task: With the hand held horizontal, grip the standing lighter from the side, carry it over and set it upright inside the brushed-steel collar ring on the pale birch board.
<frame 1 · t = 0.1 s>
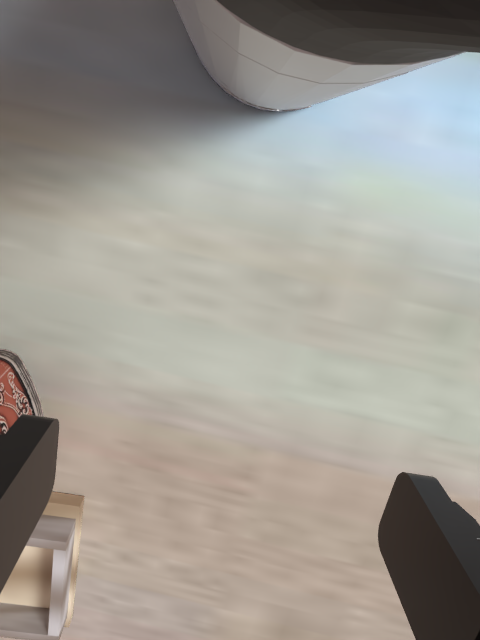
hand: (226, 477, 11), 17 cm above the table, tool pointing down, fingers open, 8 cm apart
lighter: (16, 402, 30), on the table
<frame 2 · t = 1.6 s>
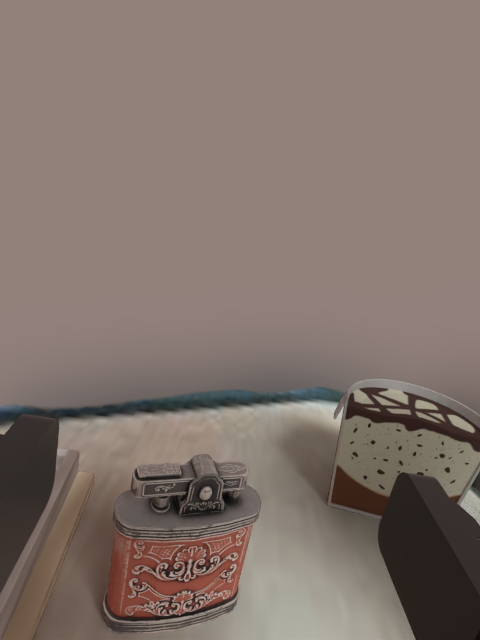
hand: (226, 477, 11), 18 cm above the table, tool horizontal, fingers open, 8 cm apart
lighter: (171, 604, 27), on the table
food container: (378, 497, 40), on the table
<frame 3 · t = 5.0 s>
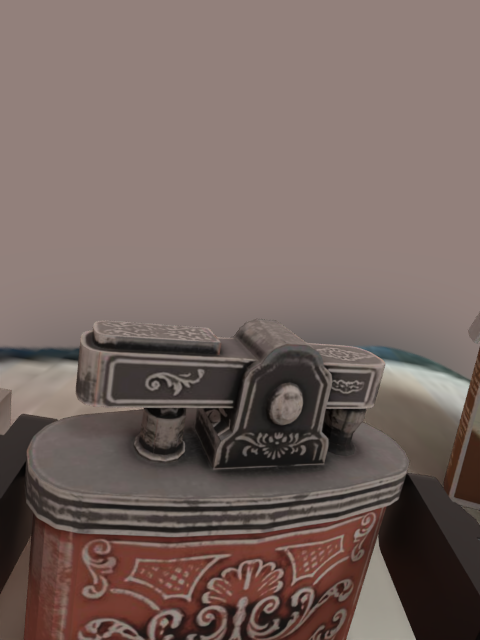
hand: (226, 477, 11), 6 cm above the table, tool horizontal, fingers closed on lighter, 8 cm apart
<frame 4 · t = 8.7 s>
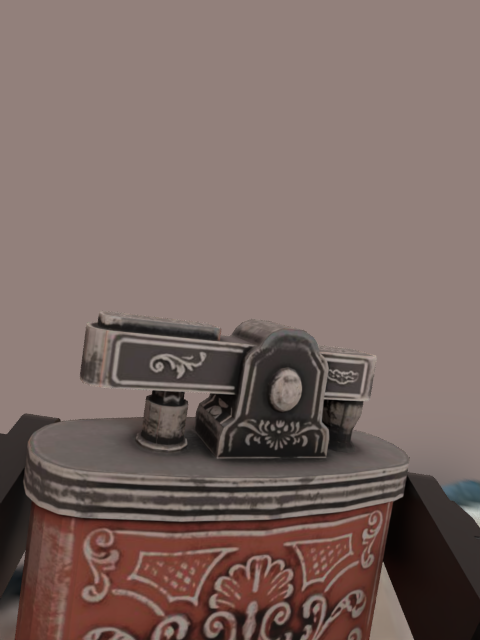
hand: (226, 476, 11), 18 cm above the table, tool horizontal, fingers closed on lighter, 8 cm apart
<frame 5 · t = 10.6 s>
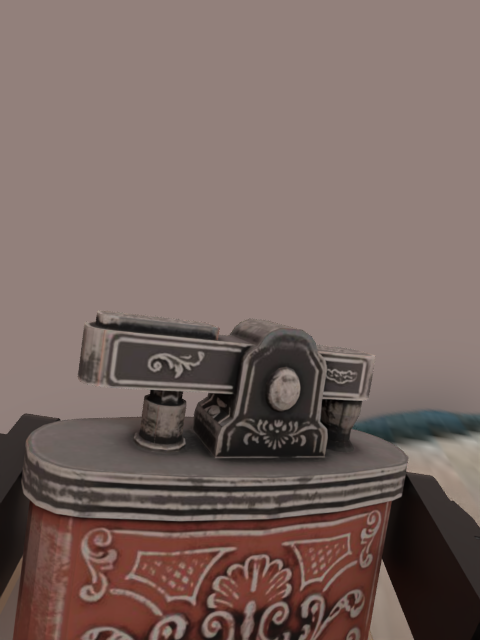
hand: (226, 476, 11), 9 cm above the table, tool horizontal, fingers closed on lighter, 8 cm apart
when the fingers open (8 cm above the table, at t = 11.5 s): lighter moves 1 cm, resting on ring board.
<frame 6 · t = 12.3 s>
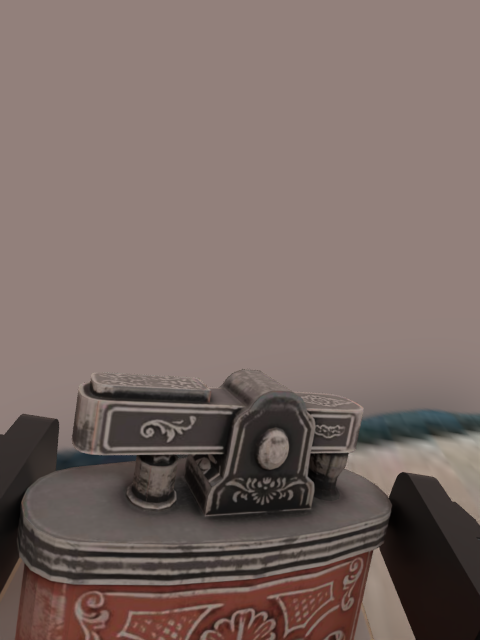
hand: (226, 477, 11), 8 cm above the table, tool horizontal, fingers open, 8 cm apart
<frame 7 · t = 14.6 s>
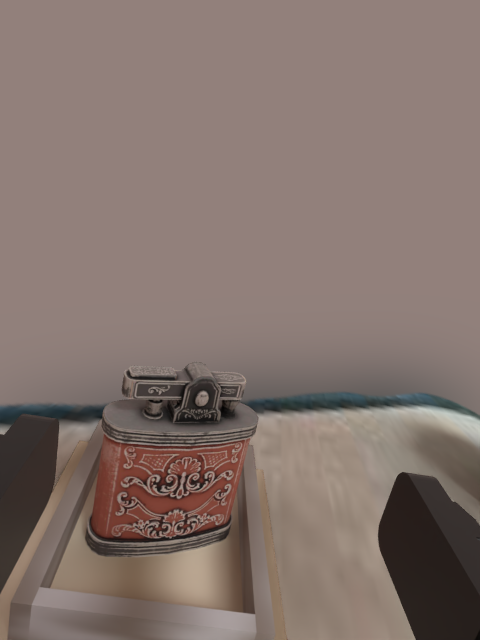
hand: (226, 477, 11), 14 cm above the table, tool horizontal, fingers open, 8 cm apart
lighter: (160, 533, 25), point 1 cm above the table, touching ring board
ring board: (157, 544, 25), on the table
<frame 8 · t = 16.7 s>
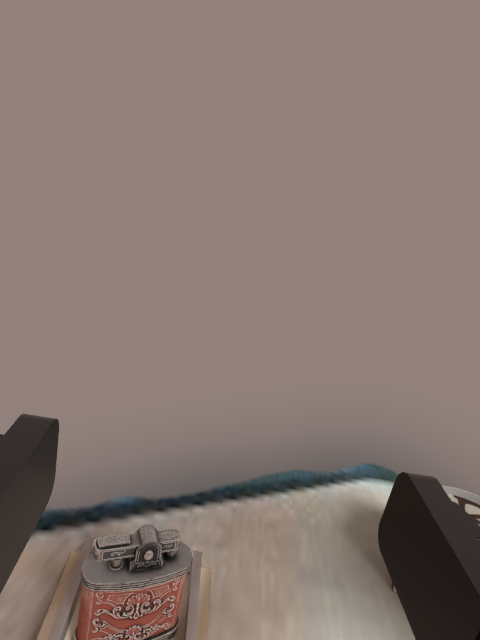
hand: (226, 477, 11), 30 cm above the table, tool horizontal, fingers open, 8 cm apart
lighter: (127, 634, 36), point 1 cm above the table, touching ring board
food container: (431, 581, 48), on the table
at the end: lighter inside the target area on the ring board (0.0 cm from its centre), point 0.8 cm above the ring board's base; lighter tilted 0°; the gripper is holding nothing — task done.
